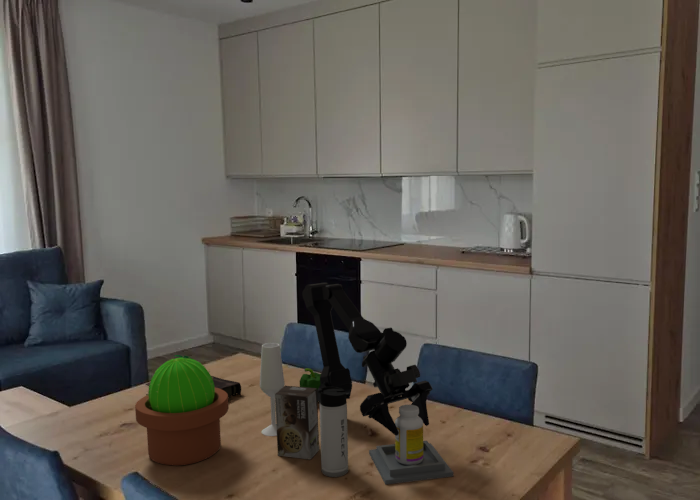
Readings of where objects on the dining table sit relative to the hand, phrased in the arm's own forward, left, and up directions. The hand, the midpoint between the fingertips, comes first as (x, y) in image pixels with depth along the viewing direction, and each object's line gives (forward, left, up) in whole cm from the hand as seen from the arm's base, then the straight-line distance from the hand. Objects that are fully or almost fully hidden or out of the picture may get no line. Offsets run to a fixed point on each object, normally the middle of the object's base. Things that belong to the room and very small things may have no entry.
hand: (412, 429), depth 146 cm
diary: (-54, +64, -10) cm, 84 cm away
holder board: (-1, +1, -9) cm, 9 cm away
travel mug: (-19, +2, -9) cm, 21 cm away
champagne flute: (-31, +29, -9) cm, 43 cm away
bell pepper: (-17, +50, -9) cm, 54 cm away
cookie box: (-26, +14, -9) cm, 31 cm away
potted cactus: (-54, +22, -9) cm, 59 cm away
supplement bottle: (0, +2, -8) cm, 8 cm away
